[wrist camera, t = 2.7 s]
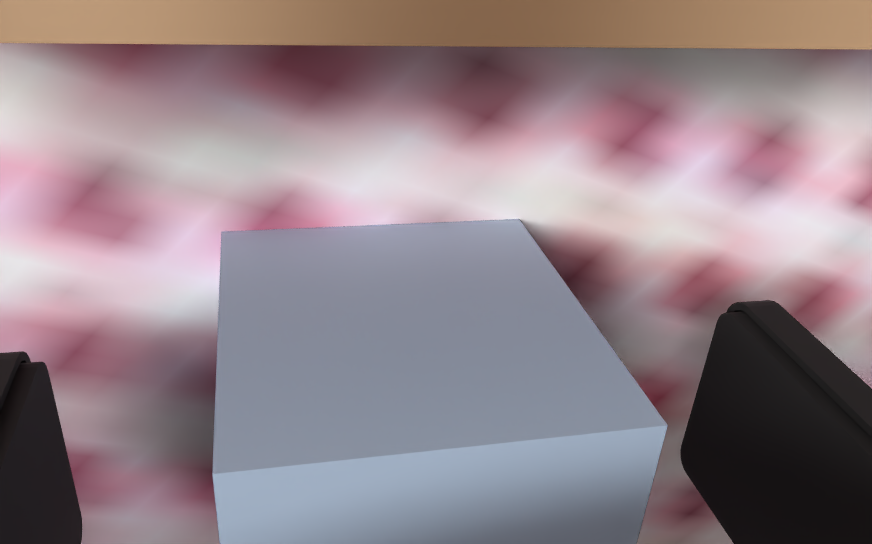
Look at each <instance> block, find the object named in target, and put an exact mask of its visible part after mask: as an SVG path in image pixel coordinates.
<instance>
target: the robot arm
mask: <svg viewBox="0 0 872 544" xmlns="http://www.w3.org/2000/svg"><path fill="white" fill-rule="evenodd" d="M681 461H682V465H683V468H684V470H685V472H686V473H687V475H688V476H689V478H690V479H691V481H692V482H693V484H694V485H695V487H696V488H697V490H698V491H699V493H700V494H701V496H702V497H703V499H704V500H705V502H706V503H707V505H708V506H709V508H710V509H711V510H712V512H713V513H714V515H715V516H716V518H717V519H718V521H719V522H720V524H721V525H722V527H723V528H724V530H725V531H726V533H727V534H728V536H729V537H730V539H731V540H732V542H733V543H734V544H872V389H871V388H870V387H869V386H868V385H867V384H866V383H865V382H864V381H863V380H861V379H860V378H859V377H858V376H857V375H856V374H855V373H854V372H853V371H852V370H851V369H849V368H848V367H847V366H846V365H845V364H844V363H843V362H842V361H841V360H840V359H838V358H837V357H836V356H835V355H834V354H833V353H832V352H831V351H830V350H829V349H827V348H826V347H825V346H824V345H823V344H822V343H821V342H820V341H819V340H818V339H817V338H815V337H814V336H813V335H812V334H811V333H810V332H809V331H808V330H807V329H806V328H804V327H803V326H802V325H801V324H800V323H799V322H798V321H797V320H796V319H795V318H794V317H792V316H791V315H790V314H789V313H788V312H787V311H786V310H785V309H784V308H783V307H781V306H780V305H779V304H778V303H776V302H775V301H770V300H765V301H751V302H737V303H734V304H732V305H731V306H730V307H729V308H728V310H727V313H724V314H722V315H721V316H720V317H719V319H718V321H717V324H716V328H715V331H714V335H713V338H712V341H711V345H710V348H709V352H708V355H707V359H706V362H705V366H704V369H703V373H702V376H701V380H700V383H699V386H698V390H697V393H696V397H695V400H694V404H693V407H692V411H691V414H690V418H689V421H688V425H687V428H686V431H685V435H684V438H683V442H682V445H681ZM81 540H82V517H81V511H80V507H79V503H78V498H77V494H76V490H75V486H74V481H73V477H72V473H71V468H70V464H69V460H68V455H67V451H66V447H65V442H64V438H63V434H62V429H61V425H60V421H59V416H58V412H57V408H56V403H55V399H54V395H53V390H52V386H51V382H50V377H49V373H48V370H47V367H46V365H45V363H43V362H32V363H31V361H30V358H29V356H28V355H27V353H25V352H9V353H0V544H81Z"/></svg>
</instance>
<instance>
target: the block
mask: <svg viewBox="0 0 872 544" xmlns="http://www.w3.org/2000/svg"><path fill="white" fill-rule="evenodd" d="M667 426H668V425H667V424H666V422H665V421H664V420H663V418H662V417H661V415H660V414H659V413H658V411H657V410H656V408H655V407H654V406H653V404H652V403H651V401H650V400H649V399H648V397H647V396H646V395H645V393H644V392H643V390H642V389H641V388H640V386H639V385H638V383H637V382H636V381H635V379H634V378H633V376H632V375H631V374H630V372H629V371H628V370H627V368H626V367H625V365H624V364H623V363H622V361H621V360H620V358H619V357H618V356H617V354H616V353H615V351H614V350H613V349H612V347H611V346H610V345H609V343H608V342H607V340H606V339H605V338H604V336H603V335H602V333H601V332H600V331H599V329H598V328H597V326H596V325H595V324H594V322H593V321H592V320H591V318H590V317H589V315H588V314H587V313H586V311H585V310H584V308H583V307H582V306H581V304H580V303H579V301H578V300H577V299H576V297H575V296H574V295H573V293H572V292H571V290H570V289H569V288H568V286H567V285H566V283H565V282H564V281H563V279H562V278H561V276H560V275H559V274H558V272H557V271H556V269H555V268H554V267H553V265H552V264H551V263H550V261H549V260H548V258H547V257H546V256H545V254H544V253H543V251H542V250H541V249H540V247H539V246H538V244H537V243H536V242H535V240H534V239H533V238H532V236H531V235H530V233H529V232H528V231H527V229H526V228H525V226H524V225H523V224H522V222H521V221H520V219H509V220H485V221H462V222H438V223H414V224H391V225H367V226H343V227H319V228H296V229H272V230H248V231H225V232H221V258H220V285H219V312H218V339H217V365H216V392H215V419H214V445H213V472H212V475H213V484H214V494H215V503H216V513H217V522H218V532H219V541H220V544H637V540H638V536H639V533H640V529H641V525H642V521H643V517H644V514H645V510H646V506H647V502H648V498H649V495H650V491H651V487H652V483H653V479H654V476H655V472H656V468H657V464H658V460H659V457H660V453H661V449H662V445H663V441H664V438H665V434H666V430H667Z"/></svg>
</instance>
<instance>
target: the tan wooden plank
mask: <svg viewBox="0 0 872 544" xmlns="http://www.w3.org/2000/svg"><path fill="white" fill-rule="evenodd" d="M0 43H76V44H209V45H342V46H475V47H608V48H740V49H872V0H0Z"/></svg>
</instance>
